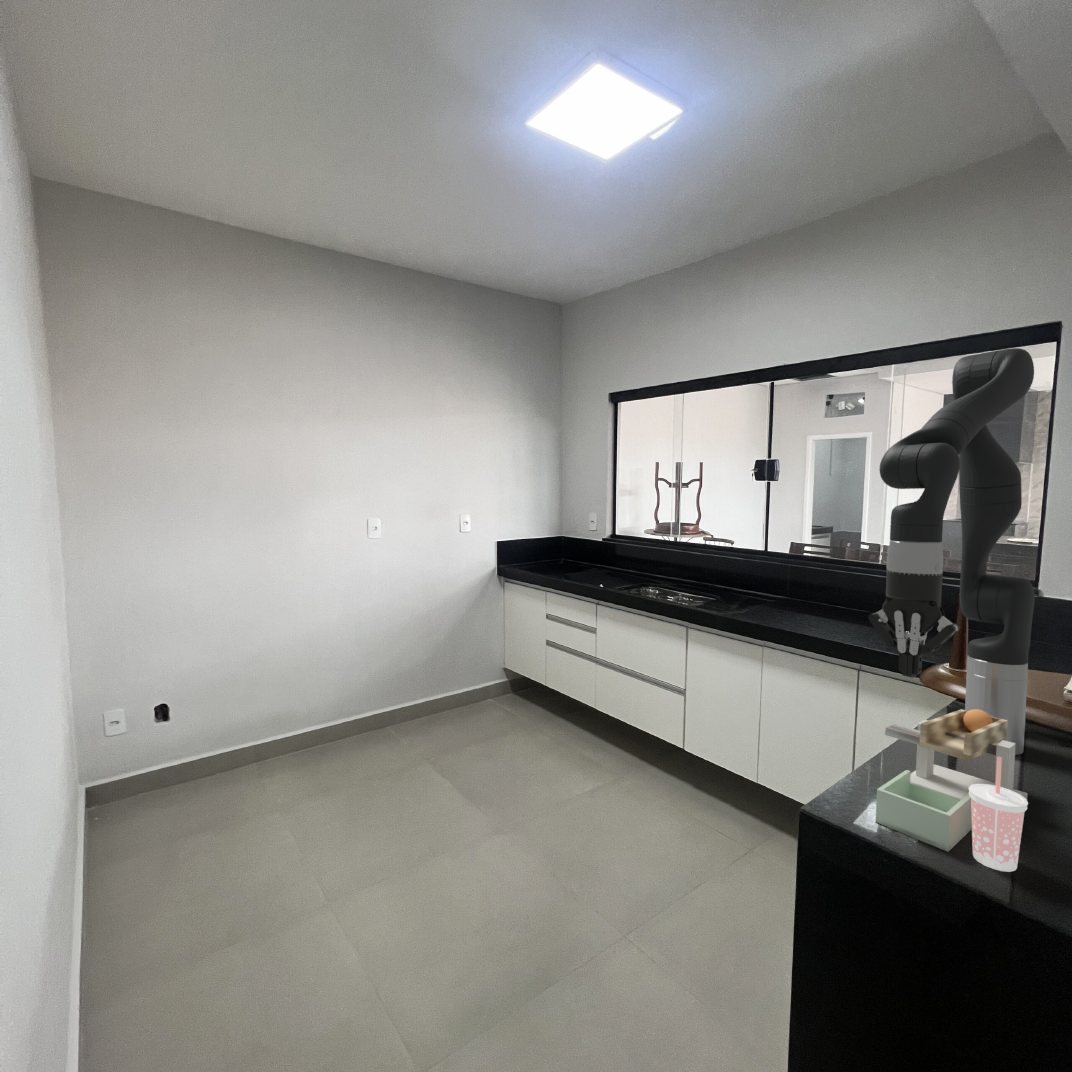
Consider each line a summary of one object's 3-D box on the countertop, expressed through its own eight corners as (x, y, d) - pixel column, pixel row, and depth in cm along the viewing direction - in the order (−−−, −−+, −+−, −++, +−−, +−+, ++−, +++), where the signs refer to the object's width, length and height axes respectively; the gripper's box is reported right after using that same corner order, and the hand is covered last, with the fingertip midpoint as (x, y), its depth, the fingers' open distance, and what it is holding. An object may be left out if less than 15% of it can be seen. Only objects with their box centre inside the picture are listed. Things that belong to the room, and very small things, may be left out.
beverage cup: (1025, 859, 77) (1030, 756, 76) (1023, 882, 73) (1029, 772, 72) (968, 841, 81) (972, 743, 81) (963, 861, 77) (967, 757, 76)
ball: (964, 733, 100) (969, 712, 102) (992, 741, 97) (998, 719, 98) (957, 724, 98) (963, 702, 99) (986, 731, 95) (992, 709, 96)
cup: (906, 799, 93) (908, 768, 93) (976, 824, 86) (977, 791, 85) (875, 822, 86) (876, 789, 86) (948, 851, 79) (949, 815, 79)
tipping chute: (926, 727, 107) (928, 701, 107) (1012, 750, 97) (1014, 722, 97) (884, 743, 96) (886, 714, 96) (976, 771, 86) (978, 738, 86)
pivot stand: (927, 767, 104) (929, 712, 104) (1027, 799, 93) (1030, 738, 93) (899, 787, 97) (901, 728, 96) (1003, 824, 86) (1007, 757, 85)
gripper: (971, 572, 90) (966, 682, 91) (880, 564, 101) (876, 663, 102) (954, 575, 86) (948, 690, 87) (860, 567, 96) (856, 670, 97)
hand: (909, 675), depth 94 cm, fingers closed
